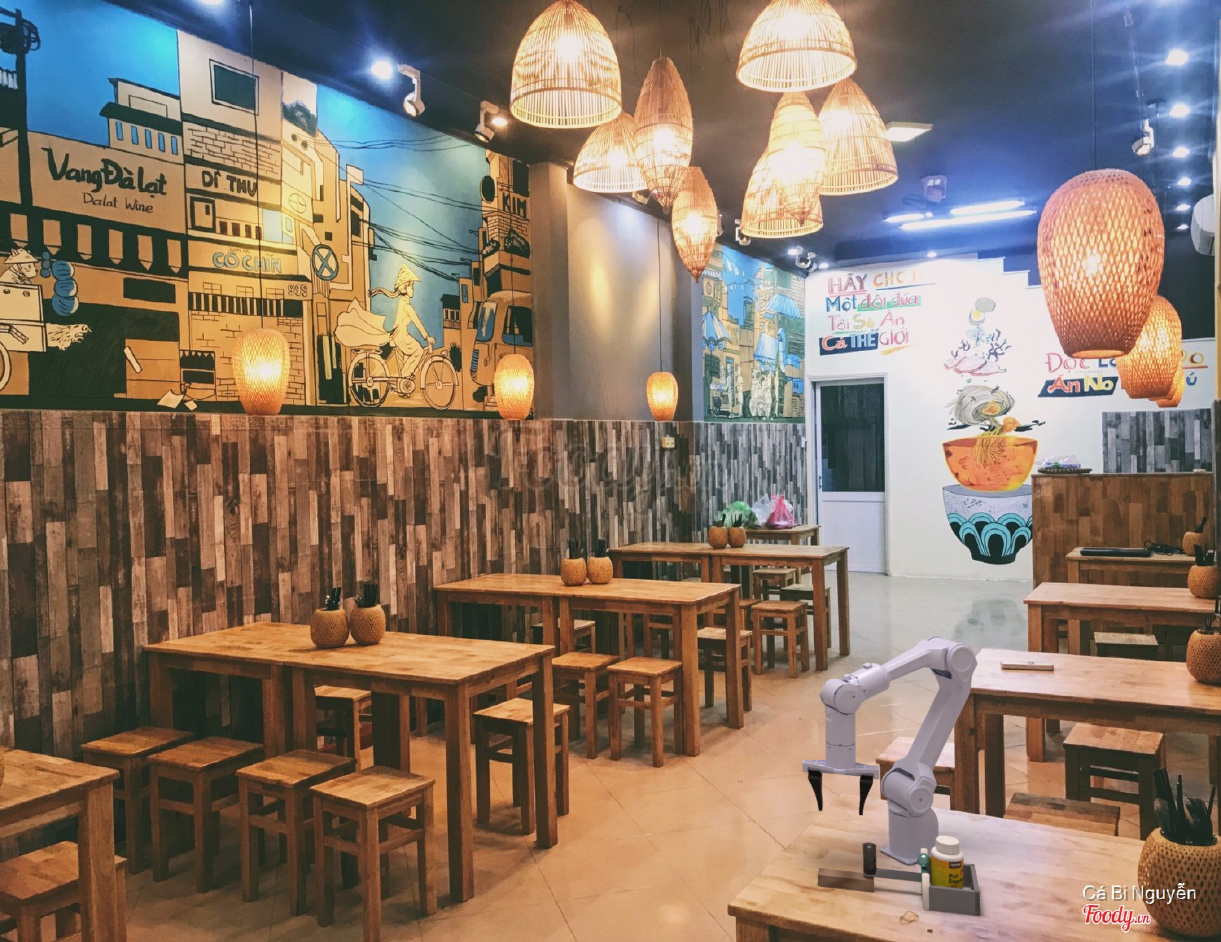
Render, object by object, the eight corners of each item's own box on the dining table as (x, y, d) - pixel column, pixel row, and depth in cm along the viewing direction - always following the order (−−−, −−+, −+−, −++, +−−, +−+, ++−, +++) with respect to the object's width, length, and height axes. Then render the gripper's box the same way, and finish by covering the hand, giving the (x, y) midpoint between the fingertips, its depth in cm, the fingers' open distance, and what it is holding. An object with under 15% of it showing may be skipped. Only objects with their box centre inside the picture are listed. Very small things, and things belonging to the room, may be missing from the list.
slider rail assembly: (862, 893, 165) (861, 852, 165) (864, 876, 172) (863, 836, 172) (932, 901, 161) (931, 859, 161) (930, 883, 168) (930, 843, 168)
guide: (817, 886, 169) (817, 874, 169) (819, 878, 172) (819, 867, 172) (873, 892, 166) (873, 880, 166) (874, 885, 169) (873, 873, 169)
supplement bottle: (949, 906, 160) (949, 849, 160) (923, 893, 165) (924, 837, 165) (970, 898, 163) (970, 842, 163) (944, 886, 168) (945, 831, 168)
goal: (922, 909, 159) (922, 875, 159) (921, 879, 171) (920, 847, 171) (980, 916, 157) (979, 881, 157) (974, 885, 168) (974, 853, 168)
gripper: (800, 744, 176) (801, 814, 176) (878, 751, 172) (878, 823, 172) (804, 734, 183) (804, 802, 183) (879, 740, 179) (879, 809, 179)
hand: (840, 811), depth 178 cm, fingers open, 7 cm apart
